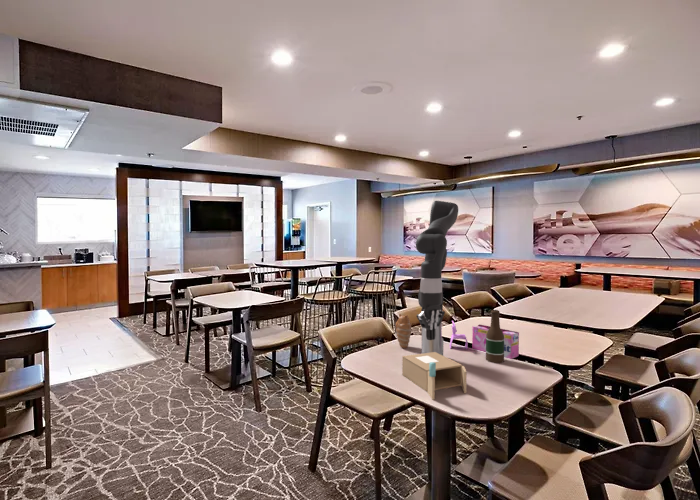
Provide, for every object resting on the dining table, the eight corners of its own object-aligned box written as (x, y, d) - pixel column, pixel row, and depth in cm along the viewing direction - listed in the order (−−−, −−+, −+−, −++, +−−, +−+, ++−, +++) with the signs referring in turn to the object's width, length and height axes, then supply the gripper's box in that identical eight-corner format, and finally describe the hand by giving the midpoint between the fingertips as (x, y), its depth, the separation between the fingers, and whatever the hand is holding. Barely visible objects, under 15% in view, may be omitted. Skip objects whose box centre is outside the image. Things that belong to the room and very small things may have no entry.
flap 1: (425, 392, 136) (425, 359, 136) (431, 392, 136) (431, 358, 136) (430, 399, 130) (430, 364, 130) (436, 399, 130) (436, 364, 130)
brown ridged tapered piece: (392, 348, 193) (392, 314, 192) (402, 345, 198) (402, 312, 197) (405, 352, 186) (405, 316, 186) (415, 349, 191) (415, 314, 191)
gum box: (469, 350, 189) (469, 325, 189) (477, 347, 194) (478, 323, 194) (511, 361, 172) (511, 334, 171) (519, 358, 176) (519, 332, 176)
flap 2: (461, 386, 142) (461, 365, 142) (463, 386, 142) (463, 365, 142) (464, 393, 136) (464, 371, 136) (466, 393, 136) (466, 371, 136)
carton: (434, 370, 160) (435, 351, 160) (461, 385, 143) (462, 364, 143) (402, 375, 154) (402, 355, 154) (426, 391, 137) (426, 369, 137)
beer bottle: (485, 363, 168) (486, 311, 168) (486, 358, 176) (486, 308, 175) (504, 365, 166) (504, 312, 165) (503, 360, 173) (504, 309, 172)
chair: (468, 352, 185) (468, 323, 185) (449, 351, 187) (450, 322, 186) (465, 348, 193) (466, 319, 193) (448, 347, 195) (448, 318, 195)
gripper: (434, 288, 138) (434, 334, 138) (410, 291, 129) (409, 340, 130) (451, 290, 132) (451, 338, 132) (427, 293, 123) (426, 345, 124)
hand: (430, 339), depth 131 cm, fingers closed
